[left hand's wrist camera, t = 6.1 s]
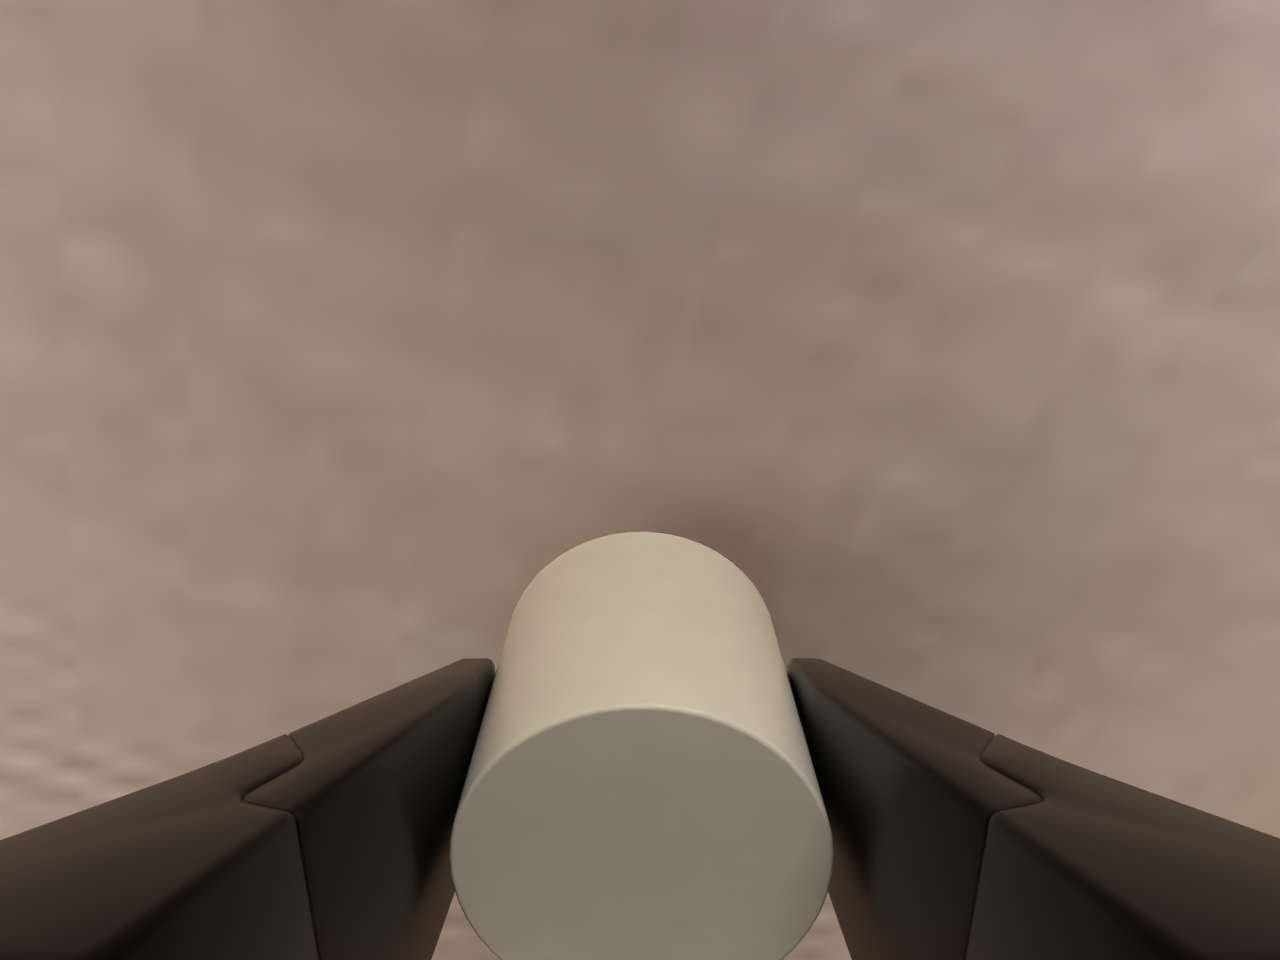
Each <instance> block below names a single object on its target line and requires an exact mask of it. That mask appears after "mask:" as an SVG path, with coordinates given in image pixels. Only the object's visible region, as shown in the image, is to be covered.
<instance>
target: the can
mask: <svg viewBox="0 0 1280 960" xmlns="http://www.w3.org/2000/svg"><path fill="white" fill-rule="evenodd" d="M833 856H834V851H833V840H832V832H831V828H830V824H829V820H828V817H827V813H826V809H825V806H824V802H823V799H822V795H821V792H820V788H819V785H818V781H817V778H816V774H815V771H814V767H813V764H812V760H811V757H810V753H809V750H808V746H807V743H806V739H805V736H804V732H803V729H802V725H801V722H800V718H799V715H798V711H797V708H796V704H795V701H794V697H793V694H792V690H791V687H790V683H789V680H788V676H787V673H786V669H785V666H784V662H783V659H782V655H781V652H780V648H779V645H778V641H777V638H776V634H775V631H774V627H773V624H772V620H771V617H770V614H769V612H768V609H767V607H766V605H765V602H764V600H763V599H762V597H761V595H760V594H759V592H758V590H757V589H756V587H755V586H754V585H753V583H752V582H751V581H750V580H749V579H748V577H747V576H746V575H745V574H744V573H743V572H742V571H741V570H740V569H739V568H738V567H737V566H735V565H734V564H733V563H732V562H731V561H729V560H728V559H726V558H725V557H724V556H722V555H721V554H719V553H718V552H716V551H714V550H712V549H710V548H708V547H706V546H704V545H702V544H700V543H697V542H695V541H692V540H689V539H686V538H683V537H679V536H674V535H670V534H665V533H656V532H626V533H619V534H611V535H608V536H604V537H600V538H596V539H593V540H590V541H588V542H585V543H583V544H580V545H578V546H576V547H574V548H572V549H570V550H569V551H567V552H565V553H563V554H561V555H560V556H559V557H557V558H556V559H555V560H553V561H552V562H551V563H549V564H548V565H547V566H546V567H545V568H544V569H543V570H542V571H541V572H539V573H538V574H537V575H536V576H535V578H534V579H533V580H532V581H531V583H530V584H529V585H528V587H527V588H526V589H525V591H524V592H523V594H522V596H521V598H520V599H519V601H518V603H517V605H516V608H515V610H514V613H513V615H512V618H511V621H510V625H509V628H508V632H507V635H506V639H505V642H504V646H503V649H502V653H501V657H500V660H499V664H498V667H497V671H496V674H495V678H494V681H493V685H492V688H491V692H490V696H489V699H488V703H487V706H486V710H485V713H484V717H483V720H482V724H481V727H480V731H479V734H478V738H477V742H476V745H475V749H474V752H473V756H472V759H471V763H470V766H469V770H468V773H467V777H466V781H465V784H464V788H463V791H462V795H461V798H460V802H459V805H458V809H457V812H456V816H455V820H454V824H453V829H452V834H451V838H450V857H449V859H450V868H451V876H452V881H453V884H454V888H455V891H456V895H457V898H458V901H459V903H460V905H461V908H462V910H463V912H464V914H465V916H466V918H467V920H468V921H469V923H470V924H471V926H472V927H473V929H474V931H475V932H476V934H477V935H478V936H479V937H480V939H481V940H482V941H483V942H484V943H485V944H486V945H487V947H488V948H489V949H490V950H491V951H492V952H493V953H494V954H495V955H497V956H498V957H499V958H500V959H501V960H782V959H783V958H784V957H785V956H786V955H787V954H789V953H790V952H791V951H792V950H793V949H794V948H795V947H796V946H797V945H798V943H799V942H800V941H801V940H802V938H803V937H804V936H805V935H806V933H807V932H808V931H809V929H810V928H811V926H812V925H813V923H814V921H815V920H816V918H817V916H818V915H819V913H820V910H821V908H822V905H823V903H824V901H825V898H826V896H827V893H828V889H829V884H830V880H831V876H832V870H833Z"/></svg>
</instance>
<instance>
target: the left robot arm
mask: <svg viewBox="0 0 1280 960" xmlns="http://www.w3.org/2000/svg"><path fill="white" fill-rule="evenodd" d="M787 676H788V680H789V683H790V687H791V690H792V694H793V697H794V701H795V704H796V708H797V711H798V715H799V718H800V722H801V725H802V729H803V732H804V736H805V739H806V743H807V746H808V750H809V753H810V757H811V760H812V764H813V767H814V771H815V774H816V778H817V781H818V785H819V788H820V792H821V795H822V799H823V802H824V806H825V809H826V813H827V817H828V820H829V824H830V828H831V832H832V840H833V851H834V856H833V870H832V876H831V880H830V884H829V889H828V893H829V896H830V898H831V901H832V904H833V907H834V910H835V913H836V916H837V918H838V921H839V924H840V927H841V930H842V933H843V936H844V938H845V941H846V944H847V947H848V950H849V953H850V956H851V958H852V960H1280V839H1279V838H1277V837H1274V836H1271V835H1268V834H1266V833H1263V832H1260V831H1257V830H1254V829H1252V828H1249V827H1246V826H1243V825H1240V824H1238V823H1235V822H1232V821H1229V820H1226V819H1224V818H1221V817H1218V816H1215V815H1212V814H1210V813H1207V812H1204V811H1201V810H1199V809H1196V808H1193V807H1190V806H1187V805H1185V804H1182V803H1179V802H1176V801H1173V800H1171V799H1168V798H1165V797H1162V796H1159V795H1157V794H1154V793H1151V792H1148V791H1146V790H1143V789H1140V788H1137V787H1134V786H1132V785H1129V784H1126V783H1123V782H1120V781H1118V780H1115V779H1112V778H1109V777H1106V776H1104V775H1101V774H1098V773H1095V772H1093V771H1090V770H1087V769H1085V768H1082V767H1079V766H1077V765H1074V764H1071V763H1069V762H1066V761H1063V760H1061V759H1058V758H1055V757H1053V756H1050V755H1048V754H1045V753H1043V752H1041V751H1038V750H1036V749H1033V748H1031V747H1028V746H1026V745H1023V744H1021V743H1018V742H1016V741H1014V740H1011V739H1009V738H1007V737H1004V736H1002V735H999V734H997V735H996V736H995V734H994V733H992V732H990V731H988V730H985V729H983V728H980V727H978V726H976V725H973V724H971V723H969V722H966V721H964V720H962V719H959V718H957V717H955V716H952V715H950V714H948V713H945V712H943V711H941V710H938V709H936V708H934V707H931V706H929V705H927V704H924V703H922V702H920V701H917V700H915V699H913V698H910V697H908V696H905V695H903V694H901V693H898V692H896V691H894V690H891V689H889V688H887V687H884V686H882V685H880V684H877V683H875V682H873V681H870V680H868V679H866V678H863V677H861V676H859V675H856V674H854V673H852V672H849V671H847V670H845V669H842V668H840V667H838V666H835V665H833V664H831V663H828V662H826V661H823V660H821V659H810V658H795V659H792V660H791V661H790V662H789V664H788V670H787ZM494 678H495V667H494V663H493V661H492V660H490V659H488V658H472V659H461V660H459V661H457V662H454V663H452V664H450V665H447V666H445V667H443V668H440V669H438V670H436V671H433V672H431V673H429V674H426V675H424V676H422V677H419V678H417V679H415V680H412V681H410V682H408V683H405V684H403V685H401V686H398V687H396V688H394V689H391V690H389V691H387V692H384V693H382V694H380V695H377V696H375V697H373V698H370V699H368V700H366V701H364V702H361V703H359V704H357V705H354V706H352V707H350V708H347V709H345V710H343V711H340V712H338V713H336V714H333V715H331V716H329V717H326V718H324V719H322V720H319V721H317V722H315V723H312V724H310V725H308V726H305V727H303V728H301V729H298V730H296V731H294V732H291V733H290V734H289V735H286V734H284V735H282V736H279V737H277V738H275V739H272V740H270V741H268V742H265V743H263V744H260V745H258V746H255V747H253V748H251V749H248V750H246V751H243V752H241V753H238V754H236V755H233V756H231V757H228V758H226V759H223V760H221V761H218V762H215V763H213V764H210V765H207V766H205V767H202V768H199V769H197V770H194V771H191V772H189V773H186V774H183V775H180V776H178V777H175V778H172V779H169V780H167V781H164V782H161V783H158V784H155V785H153V786H150V787H147V788H144V789H142V790H139V791H136V792H133V793H130V794H128V795H125V796H122V797H119V798H117V799H114V800H111V801H108V802H105V803H103V804H100V805H97V806H94V807H92V808H89V809H86V810H83V811H80V812H78V813H75V814H72V815H69V816H67V817H64V818H61V819H58V820H55V821H53V822H50V823H47V824H44V825H42V826H39V827H36V828H33V829H30V830H28V831H25V832H22V833H19V834H17V835H14V836H11V837H8V838H5V839H3V840H0V960H431V959H432V956H433V953H434V950H435V947H436V944H437V941H438V939H439V936H440V933H441V930H442V927H443V924H444V921H445V918H446V916H447V913H448V910H449V907H450V904H451V901H452V898H453V895H454V893H455V888H454V884H453V881H452V876H451V868H450V859H449V857H450V838H451V834H452V829H453V824H454V820H455V816H456V812H457V809H458V805H459V802H460V798H461V795H462V791H463V788H464V784H465V781H466V777H467V773H468V770H469V766H470V763H471V759H472V756H473V752H474V749H475V745H476V742H477V738H478V734H479V731H480V727H481V724H482V720H483V717H484V713H485V710H486V706H487V703H488V699H489V696H490V692H491V688H492V685H493V681H494Z"/></svg>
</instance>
